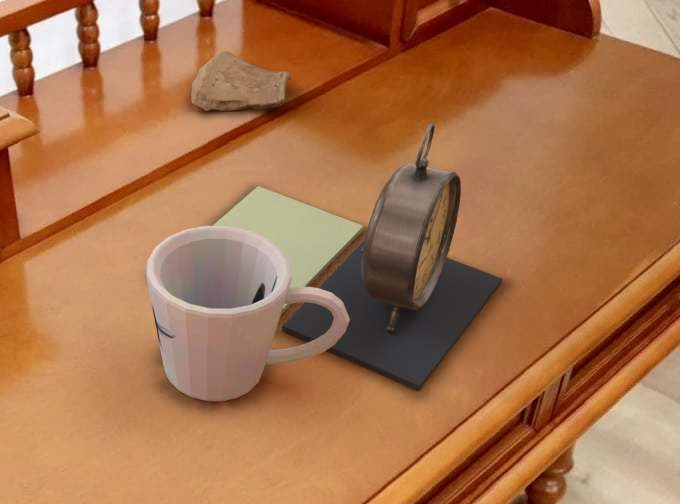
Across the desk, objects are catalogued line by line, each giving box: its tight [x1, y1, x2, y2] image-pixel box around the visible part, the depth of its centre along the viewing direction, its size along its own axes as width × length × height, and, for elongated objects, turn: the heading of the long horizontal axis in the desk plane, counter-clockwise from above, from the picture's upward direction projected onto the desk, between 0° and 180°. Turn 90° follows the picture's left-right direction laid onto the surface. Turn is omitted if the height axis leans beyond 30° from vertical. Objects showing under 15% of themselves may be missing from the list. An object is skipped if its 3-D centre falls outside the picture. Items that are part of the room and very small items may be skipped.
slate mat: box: [281, 239, 503, 392], centre depth 90 cm, size 12×16×1 cm
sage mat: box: [212, 185, 364, 317], centre depth 95 cm, size 11×16×1 cm
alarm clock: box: [361, 122, 462, 333], centre depth 85 cm, size 11×5×16 cm, turn 150°
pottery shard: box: [190, 50, 292, 112], centre depth 115 cm, size 11×4×10 cm
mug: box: [146, 225, 350, 402], centre depth 81 cm, size 10×15×10 cm
